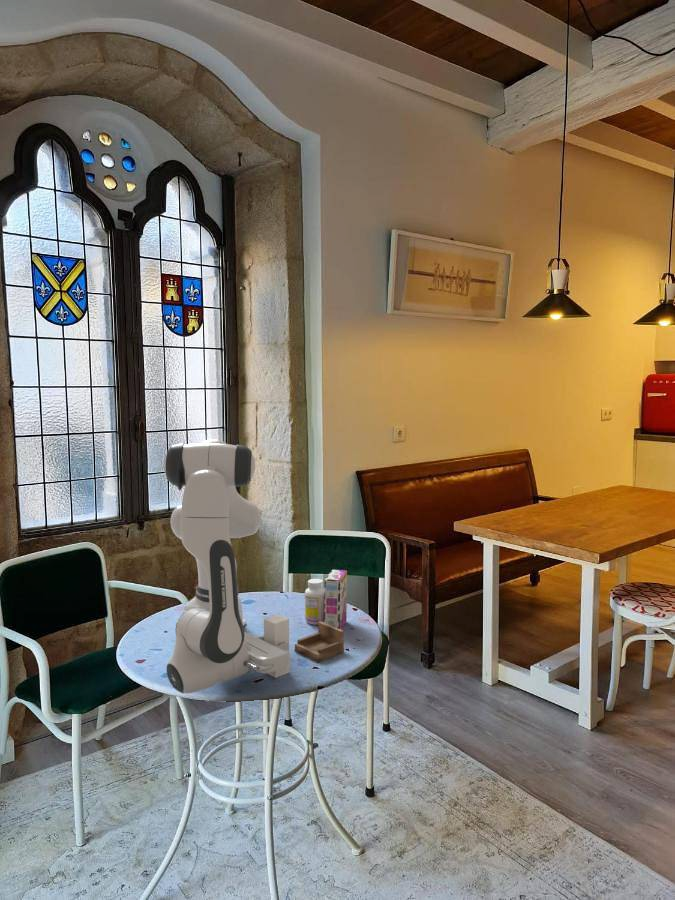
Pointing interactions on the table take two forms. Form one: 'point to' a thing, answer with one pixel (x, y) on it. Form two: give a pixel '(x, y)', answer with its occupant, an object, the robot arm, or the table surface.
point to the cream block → (277, 637)
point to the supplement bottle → (314, 602)
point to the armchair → (322, 643)
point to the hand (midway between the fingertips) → (279, 641)
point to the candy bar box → (335, 598)
